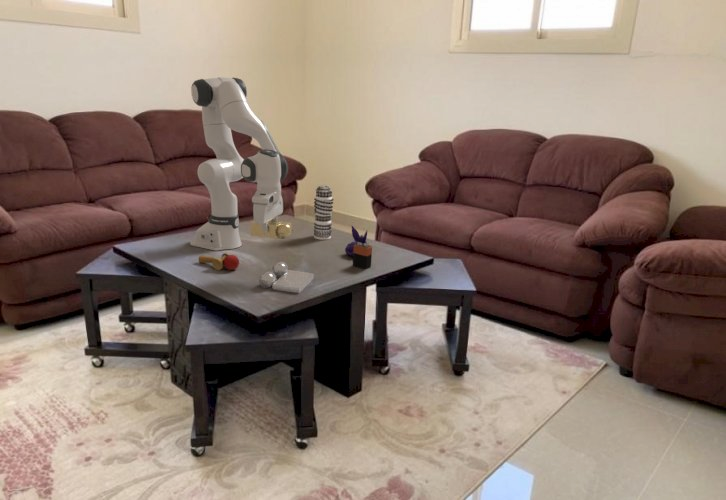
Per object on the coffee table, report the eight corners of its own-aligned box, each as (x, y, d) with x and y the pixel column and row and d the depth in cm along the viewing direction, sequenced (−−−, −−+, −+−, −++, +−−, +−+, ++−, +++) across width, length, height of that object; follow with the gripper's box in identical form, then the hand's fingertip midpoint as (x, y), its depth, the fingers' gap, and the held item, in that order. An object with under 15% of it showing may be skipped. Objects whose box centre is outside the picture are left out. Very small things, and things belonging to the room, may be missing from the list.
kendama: (194, 269, 208) (231, 271, 200) (193, 253, 207) (230, 255, 200) (207, 266, 215) (243, 269, 208) (206, 251, 214) (243, 253, 207)
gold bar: (288, 239, 194) (288, 226, 193) (250, 235, 197) (250, 222, 196) (293, 235, 200) (293, 222, 199) (257, 231, 203) (256, 218, 202)
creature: (374, 250, 240) (376, 224, 236) (357, 261, 224) (359, 233, 220) (357, 247, 243) (358, 221, 240) (339, 257, 228) (340, 230, 224)
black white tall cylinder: (331, 240, 251) (333, 189, 243) (312, 239, 250) (313, 188, 243) (332, 235, 259) (334, 185, 252) (313, 234, 259) (315, 184, 252)
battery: (365, 269, 215) (367, 246, 212) (352, 265, 218) (353, 242, 215) (371, 266, 218) (372, 243, 215) (357, 263, 222) (359, 240, 219)
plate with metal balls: (299, 293, 187) (299, 280, 185) (258, 287, 190) (258, 274, 189) (313, 278, 202) (314, 266, 200) (276, 272, 205) (276, 260, 204)
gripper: (271, 188, 204) (272, 223, 209) (249, 198, 185) (250, 236, 190) (287, 190, 203) (287, 224, 207) (266, 200, 184) (266, 238, 188)
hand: (269, 230), depth 198 cm, fingers closed on gold bar, 6 cm apart
